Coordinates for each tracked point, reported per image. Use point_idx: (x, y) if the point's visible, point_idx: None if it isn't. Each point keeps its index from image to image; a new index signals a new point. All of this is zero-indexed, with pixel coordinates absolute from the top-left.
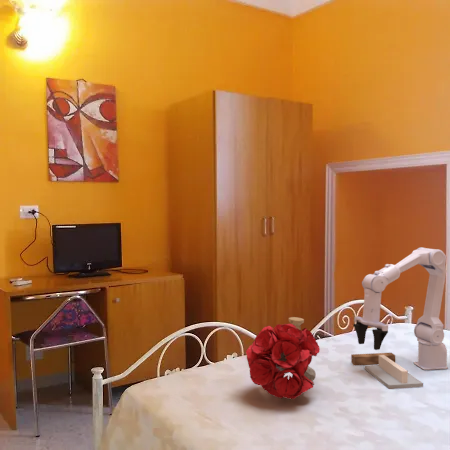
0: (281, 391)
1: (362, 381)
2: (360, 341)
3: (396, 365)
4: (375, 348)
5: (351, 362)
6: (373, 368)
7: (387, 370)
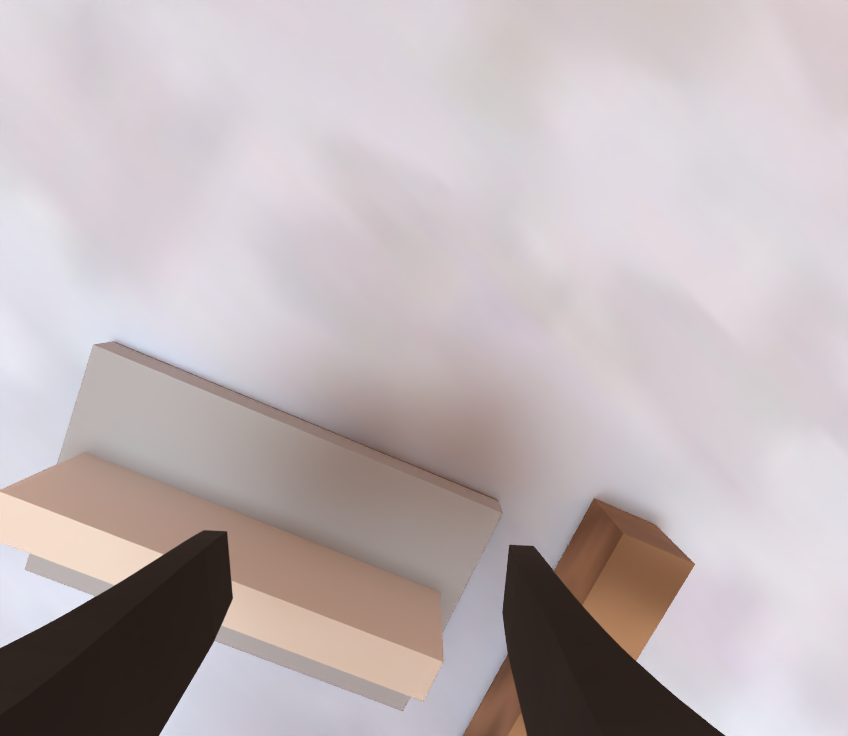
0: None
1: (315, 295)
2: (516, 581)
3: None
4: (187, 539)
5: (654, 525)
6: (420, 522)
7: (296, 546)
